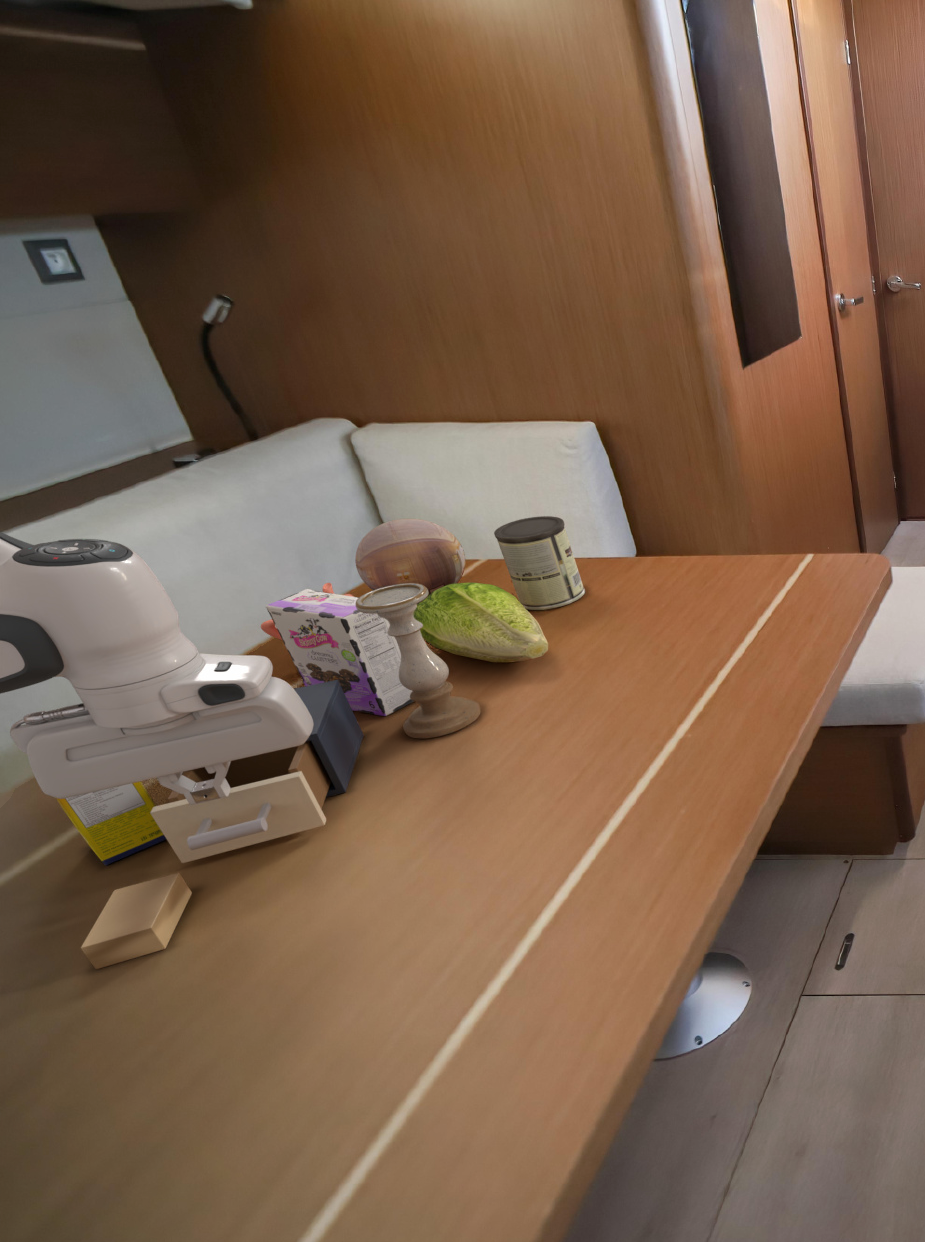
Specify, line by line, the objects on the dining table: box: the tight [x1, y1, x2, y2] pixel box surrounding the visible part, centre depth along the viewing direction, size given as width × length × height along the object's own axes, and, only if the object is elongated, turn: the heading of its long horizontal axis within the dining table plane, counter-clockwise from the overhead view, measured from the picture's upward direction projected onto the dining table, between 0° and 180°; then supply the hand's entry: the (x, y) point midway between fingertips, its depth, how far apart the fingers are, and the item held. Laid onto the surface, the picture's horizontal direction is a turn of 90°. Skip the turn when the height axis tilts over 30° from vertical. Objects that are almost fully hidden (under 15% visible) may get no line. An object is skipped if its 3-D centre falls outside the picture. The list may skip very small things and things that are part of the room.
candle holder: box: [355, 583, 481, 739], centre depth 122 cm, size 9×9×20 cm
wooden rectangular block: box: [80, 872, 193, 970], centre depth 92 cm, size 5×9×3 cm, turn 32°
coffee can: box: [493, 515, 586, 611], centre depth 159 cm, size 10×10×14 cm
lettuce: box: [413, 582, 549, 663], centre depth 142 cm, size 12×24×13 cm
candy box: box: [265, 588, 415, 717], centre depth 128 cm, size 14×6×16 cm, turn 76°
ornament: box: [354, 518, 467, 602], centre depth 158 cm, size 15×15×15 cm
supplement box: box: [55, 781, 167, 866], centre depth 101 cm, size 6×6×11 cm
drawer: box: [150, 741, 331, 864], centre depth 104 cm, size 18×12×7 cm
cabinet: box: [293, 680, 365, 798], centre depth 113 cm, size 15×14×9 cm
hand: (211, 798), depth 97 cm, fingers closed
